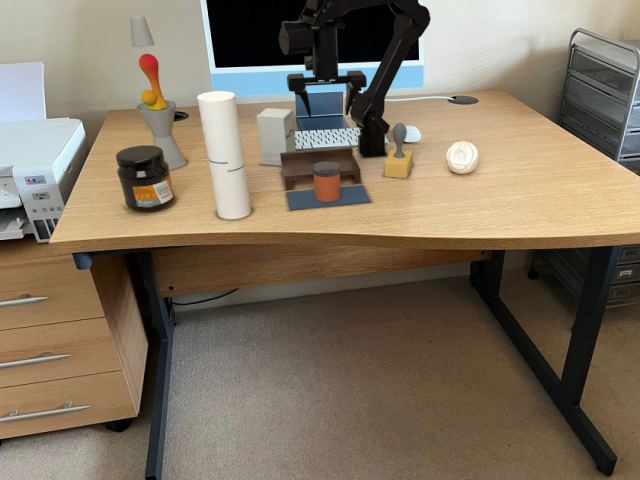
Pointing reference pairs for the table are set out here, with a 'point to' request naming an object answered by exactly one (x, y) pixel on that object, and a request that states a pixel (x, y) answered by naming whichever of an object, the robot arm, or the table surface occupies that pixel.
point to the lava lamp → (155, 98)
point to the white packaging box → (275, 134)
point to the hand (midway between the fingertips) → (328, 116)
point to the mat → (308, 201)
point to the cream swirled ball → (462, 157)
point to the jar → (326, 181)
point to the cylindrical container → (225, 153)
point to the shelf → (302, 162)
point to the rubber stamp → (398, 155)
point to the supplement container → (145, 178)
